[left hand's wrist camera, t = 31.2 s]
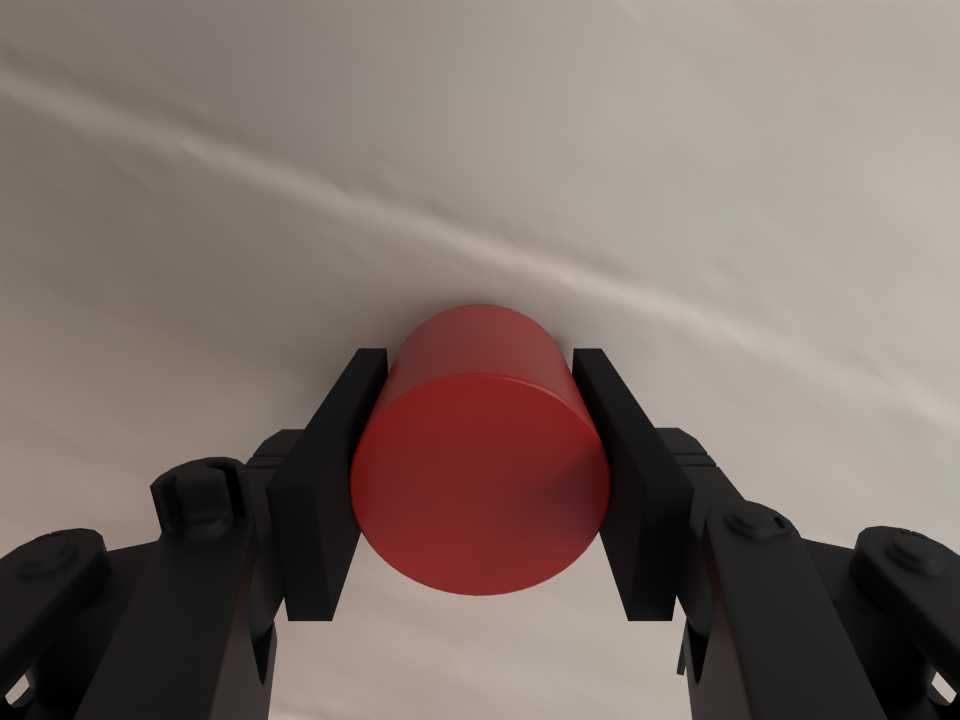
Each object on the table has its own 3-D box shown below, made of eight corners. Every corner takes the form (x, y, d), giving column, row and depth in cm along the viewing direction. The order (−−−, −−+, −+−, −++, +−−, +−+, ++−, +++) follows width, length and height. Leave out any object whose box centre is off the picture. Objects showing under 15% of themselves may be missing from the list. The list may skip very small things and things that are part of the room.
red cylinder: (476, 497, 16) (474, 634, 11) (353, 386, 15) (293, 490, 10) (606, 395, 15) (665, 501, 10) (484, 264, 13) (487, 315, 9)
